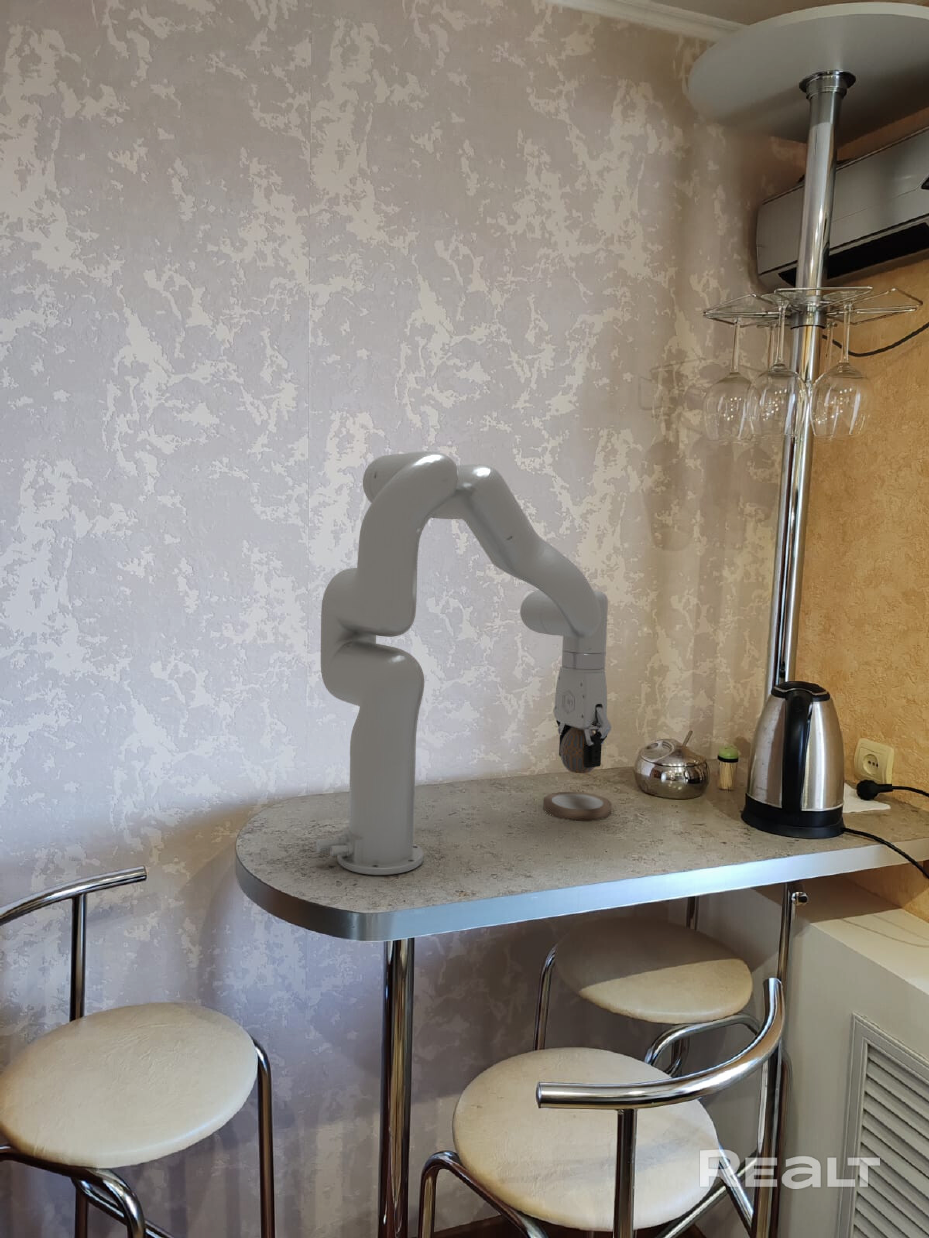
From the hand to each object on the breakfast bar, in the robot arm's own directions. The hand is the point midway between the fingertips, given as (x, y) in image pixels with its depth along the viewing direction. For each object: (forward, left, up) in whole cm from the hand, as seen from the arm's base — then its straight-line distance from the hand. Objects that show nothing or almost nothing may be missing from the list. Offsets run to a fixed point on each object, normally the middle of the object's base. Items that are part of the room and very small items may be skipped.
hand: (579, 760), depth 157 cm
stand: (0, 0, -9) cm, 9 cm away
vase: (0, 0, -2) cm, 2 cm away
